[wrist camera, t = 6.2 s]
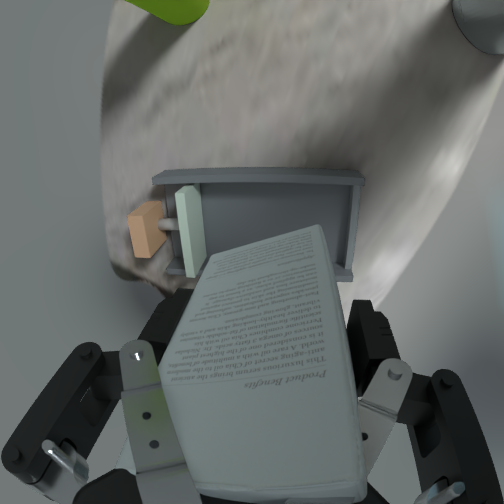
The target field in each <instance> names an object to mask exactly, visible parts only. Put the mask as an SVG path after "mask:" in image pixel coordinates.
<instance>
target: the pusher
mask: <svg viewBox="0 0 504 504" xmlns="http://www.w3.org/2000/svg"><path fill="white" fill-rule="evenodd" d="M175 199H176V207H177V215H178V218H164V217H163V210H162V203H161V201H146V202H145V203H144V204H142V205H141V206H140V207H138V208H137V209H136V210H134V211H133V212H132V213H130V214H129V215H128V216H127V220H128V225H129V230H130V235H131V240H132V245H133V249H134V254H135V257H138V258H151V257H152V256H153V255H154V253H155V252H156V251H157V250H158V249H159V248H160V246H161V245H162V244H163V243H164V242H165V241H166V239H167V237H166V231H165V230H180V237H181V244H182V251H183V258H184V264H185V270H186V277H189V278H195V277H196V275H197V274H198V272H199V270H200V268H201V266H202V264H203V263H204V261H205V259H206V257H207V253H206V244H205V235H204V225H203V215H202V205H201V194H200V183H187V184H186V185H185V186H183V187H182V188H181V189H180V190H178V191H177V192H176V193H175Z"/></svg>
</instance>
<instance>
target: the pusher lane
mask: <svg viewBox="0 0 504 504" xmlns="http://www.w3.org/2000/svg"><path fill="white" fill-rule="evenodd" d="M152 183H153V185H158V184H164V186H165V194H166V202H167V209H168V217H169V218H178V215H177V207H176V199H175V193H176V192H177V191H178V190H180V189H181V188H182V187H183V186H185V185H186V184H187V183H200V194H201V205H202V215H203V225H204V235H205V244H206V253H207V257H206V259H205V261H204V263H203V264H202V266H201V268H200V270H199V272H198V274H197V275H196V276H201V275H202V273H203V271H204V269H205V267H206V265H207V263H208V261H209V259H210V257H211V255H213V254H216V253H220V252H224V251H227V250H231V249H234V248H237V247H241V246H244V245H248V244H251V243H255V242H258V241H261V240H265V239H268V238H272V237H275V236H279V235H282V234H286V233H289V232H293V231H296V230H300V229H303V228H307V227H310V226H313V225H317V224H319V225H320V226H321V227H322V230H323V233H324V236H325V240H326V243H327V247H328V251H329V254H330V258H331V262H332V266H333V269H334V274H335V278H336V282H353V273H352V270H351V269H352V262H353V255H354V247H355V239H356V231H357V222H358V213H359V203H360V192H361V186H364V184H365V178H364V177H363V176H362V175H361V174H360V173H359V171H355V170H339V169H318V168H285V167H232V168H199V169H178V170H165V171H163V172H161V173H159V174H157V175H156V176H154V177H152ZM171 237H172V243H173V250H174V256H175V257H174V258H173V260H172V261H171V262H170V264H169V265H168V267H167V268H166V270H167V274H174V275H186V270H185V264H184V258H183V251H182V244H181V237H180V230H171Z"/></svg>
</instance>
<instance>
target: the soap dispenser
mask: <svg viewBox="0 0 504 504" xmlns="http://www.w3.org/2000/svg"><path fill="white" fill-rule="evenodd" d="M125 1H127V2H129V3H131V4H133V5H136V6H138V7H140V8H142V9H144V10H145V11H147V12H149V13H151V14H153V15H155V16H157V17H159V18H161V19H162V20H164V21H166V22H168V23H170V24H173V25H186V24H189V23H192V22H194V21H196V20H197V19H199V18H200V17H201V16H202V15H203V14H204V13H205V11H206V10H207V8H208V5H209V0H125Z"/></svg>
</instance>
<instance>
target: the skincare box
mask: <svg viewBox="0 0 504 504" xmlns="http://www.w3.org/2000/svg"><path fill="white" fill-rule="evenodd" d="M158 370H159V374H160V378H161V382H162V386H163V390H164V393H165V397H166V400H167V404H168V407H169V411H170V414H171V417H172V421H173V424H174V427H175V430H176V433H177V436H178V439H179V442H180V445H181V448H182V451H183V454H184V457H185V460H186V462H187V465H188V468H189V471H190V473H191V476H192V479H193V481H194V484H195V486H196V488H197V490H198V491H199V493H201V494H203V495H206V496H210V497H216V498H221V499H227V500H233V501H240V502H247V503H256V504H284V503H285V502H286V501H287V500H288V499H289V498H290V497H291V498H323V497H355V499H354V501H353V503H356V502H360V501H362V500H363V499H364V498H365V497H366V495H367V478H366V470H365V459H364V449H363V438H362V433H361V426H360V418H359V410H358V396H357V389H356V382H355V376H354V370H353V364H352V358H351V352H350V347H349V341H348V336H347V331H346V325H345V320H344V315H343V310H342V305H341V300H340V295H339V290H338V286H337V282H336V278H335V274H334V269H333V266H332V262H331V258H330V254H329V251H328V247H327V243H326V240H325V236H324V233H323V230H322V227H321V226H320V225H319V224H317V225H313V226H310V227H307V228H303V229H300V230H296V231H293V232H289V233H286V234H282V235H279V236H275V237H272V238H268V239H265V240H261V241H258V242H255V243H251V244H248V245H244V246H241V247H237V248H234V249H231V250H227V251H224V252H220V253H216V254H213V255H211V257H210V259H209V261H208V263H207V265H206V267H205V269H204V271H203V273H202V275H201V277H200V279H199V281H198V283H197V285H196V287H195V289H194V291H193V294H192V296H191V298H190V300H189V302H188V304H187V306H186V308H185V310H184V312H183V314H182V317H181V319H180V321H179V323H178V325H177V327H176V329H175V331H174V333H173V335H172V338H171V340H170V342H169V344H168V346H167V349H166V351H165V353H164V355H163V357H162V359H161V362H160V364H159V366H158ZM158 447H159V446H156V447H155V448H154V449H156V448H158ZM118 468H124V469H126V470H128V471H129V472H130V473H132V474H134V475H136V468H135V464H134V460H133V455H132V451H131V447H130V442H129V437H127V439H126V441H125V444H124V446H123V448H122V451H121V453H120V456H119V459H118V461H117V463H116V466H115V469H118Z"/></svg>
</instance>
